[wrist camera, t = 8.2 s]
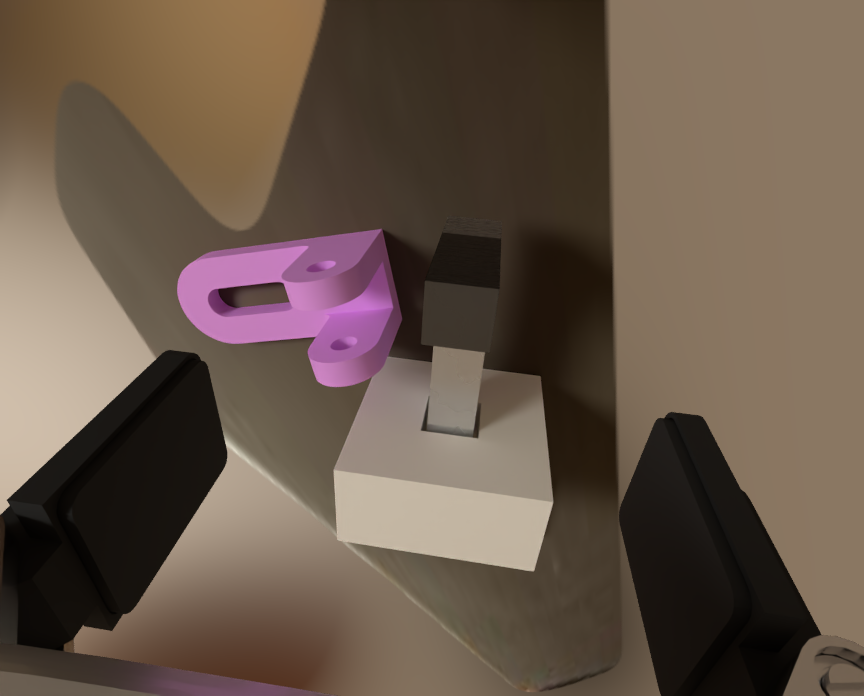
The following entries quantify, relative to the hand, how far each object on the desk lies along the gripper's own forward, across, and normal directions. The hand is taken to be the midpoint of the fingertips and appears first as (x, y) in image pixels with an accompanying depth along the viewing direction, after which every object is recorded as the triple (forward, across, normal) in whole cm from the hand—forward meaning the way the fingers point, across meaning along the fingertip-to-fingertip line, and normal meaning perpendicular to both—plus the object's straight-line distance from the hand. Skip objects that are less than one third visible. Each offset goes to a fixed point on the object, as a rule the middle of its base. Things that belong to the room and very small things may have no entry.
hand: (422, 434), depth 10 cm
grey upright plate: (+14, 0, +6) cm, 15 cm away
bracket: (+18, +10, +6) cm, 22 cm away
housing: (+18, 0, +13) cm, 22 cm away
